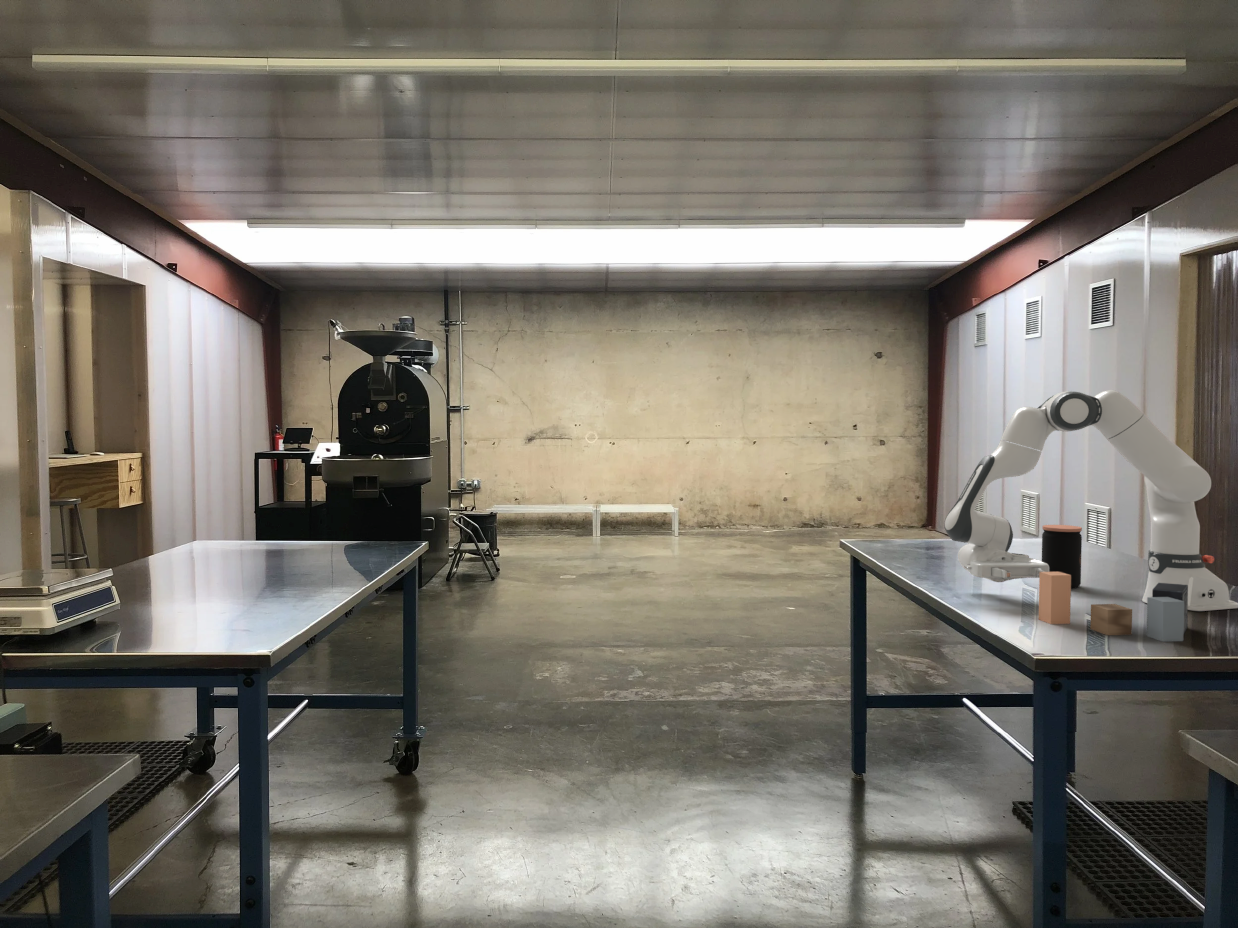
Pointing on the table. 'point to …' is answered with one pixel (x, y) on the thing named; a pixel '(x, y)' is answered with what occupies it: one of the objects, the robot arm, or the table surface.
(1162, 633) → the slate block
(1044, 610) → the terracotta block
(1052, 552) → the coffee jar
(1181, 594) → the small box
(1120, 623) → the walnut block
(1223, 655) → the table surface
